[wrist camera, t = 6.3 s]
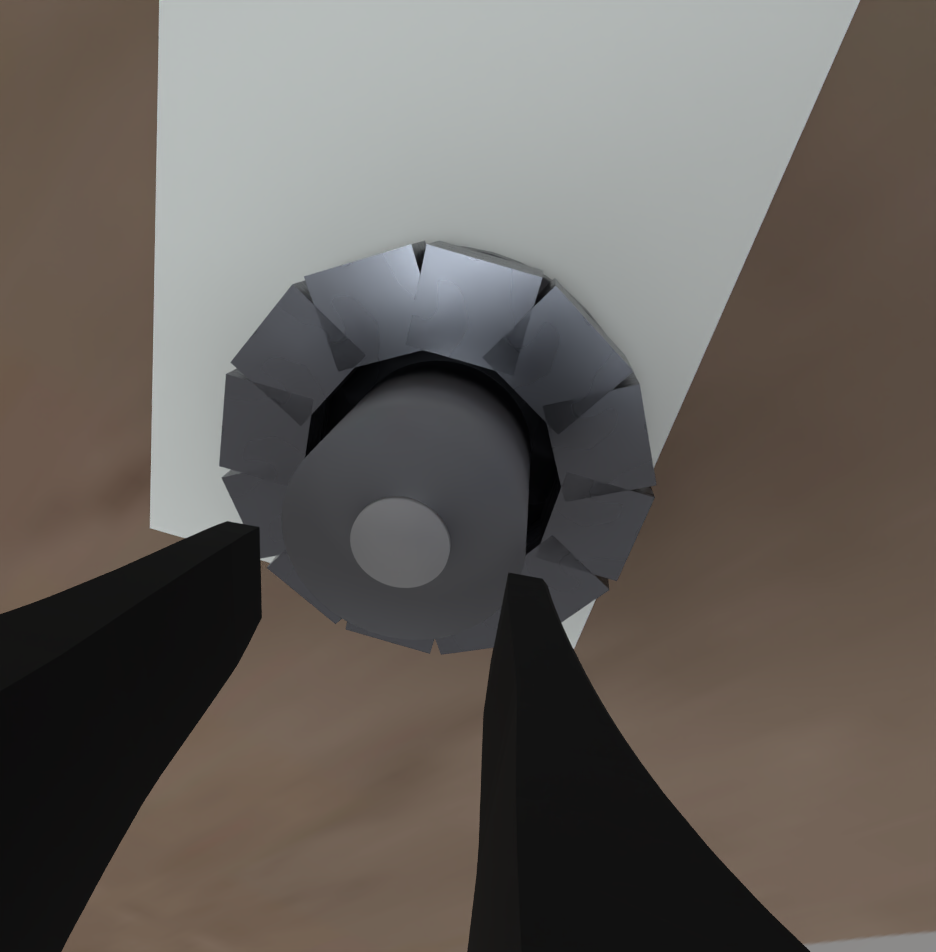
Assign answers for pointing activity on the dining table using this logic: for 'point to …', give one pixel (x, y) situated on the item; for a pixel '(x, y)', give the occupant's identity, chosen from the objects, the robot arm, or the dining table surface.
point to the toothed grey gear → (469, 343)
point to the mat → (462, 173)
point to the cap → (414, 504)
